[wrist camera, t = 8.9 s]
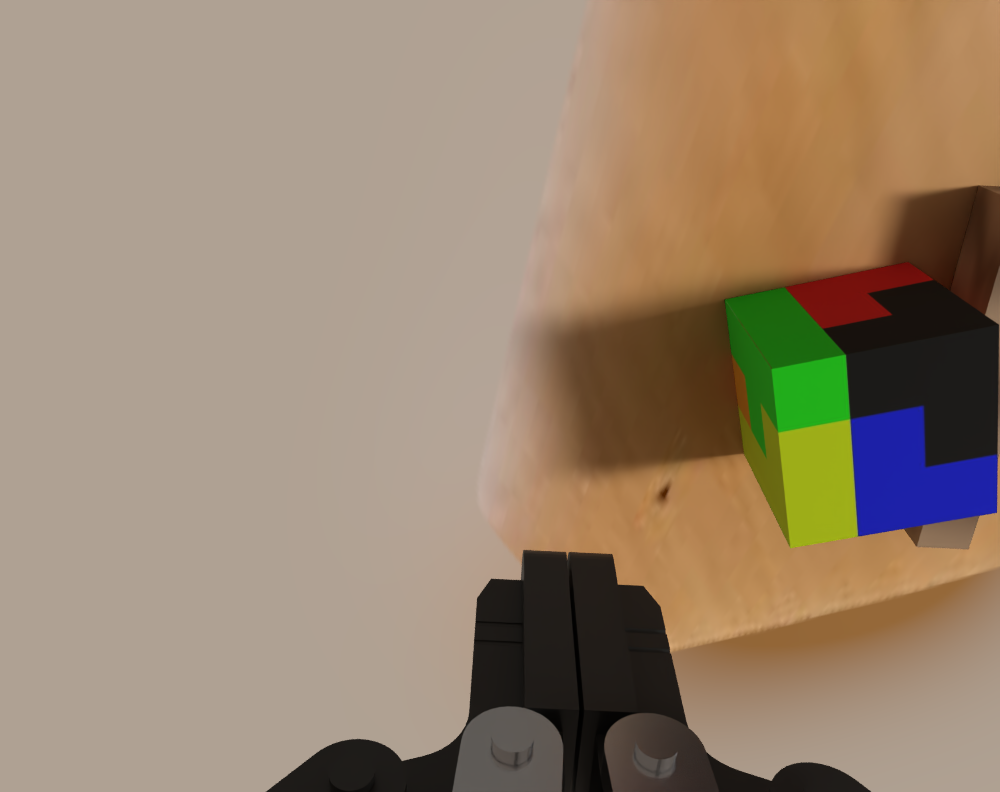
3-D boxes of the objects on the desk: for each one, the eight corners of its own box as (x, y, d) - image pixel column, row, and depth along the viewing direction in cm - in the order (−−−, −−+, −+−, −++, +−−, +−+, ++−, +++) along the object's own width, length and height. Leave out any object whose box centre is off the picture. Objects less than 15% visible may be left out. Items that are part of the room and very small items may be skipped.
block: (978, 185, 46) (1018, 202, 42) (1035, 188, 46) (1080, 205, 42) (890, 509, 54) (916, 546, 51) (938, 512, 54) (968, 549, 51)
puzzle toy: (912, 421, 52) (996, 512, 43) (743, 452, 53) (790, 548, 44) (907, 261, 48) (999, 324, 39) (724, 299, 49) (771, 369, 40)
